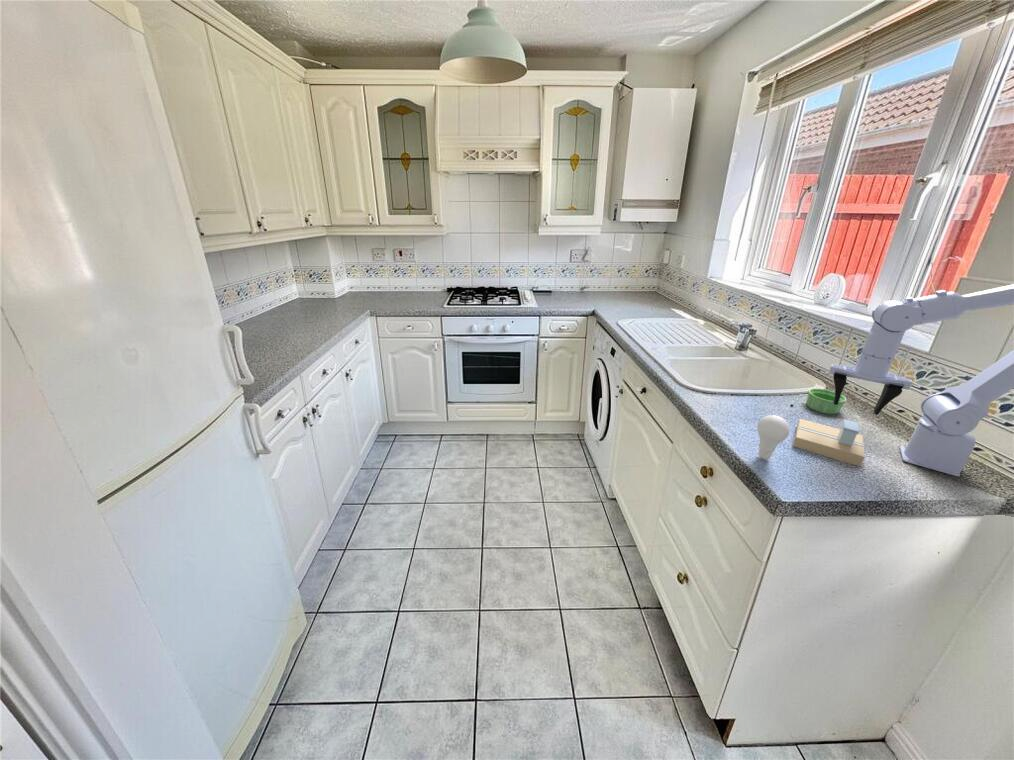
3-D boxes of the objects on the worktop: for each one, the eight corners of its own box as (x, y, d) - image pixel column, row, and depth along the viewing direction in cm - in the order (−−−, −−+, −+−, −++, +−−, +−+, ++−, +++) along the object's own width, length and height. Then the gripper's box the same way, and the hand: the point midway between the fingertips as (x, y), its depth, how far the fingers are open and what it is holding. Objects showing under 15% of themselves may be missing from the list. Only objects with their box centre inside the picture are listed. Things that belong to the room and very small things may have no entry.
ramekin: (797, 404, 122) (801, 390, 120) (815, 399, 125) (820, 386, 124) (829, 417, 114) (834, 403, 113) (847, 412, 118) (853, 398, 116)
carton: (858, 444, 101) (862, 435, 100) (860, 466, 93) (864, 456, 92) (796, 427, 108) (799, 418, 107) (792, 446, 100) (796, 436, 99)
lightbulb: (768, 451, 97) (781, 410, 93) (784, 466, 92) (800, 424, 87) (742, 450, 97) (755, 410, 93) (757, 466, 91) (772, 423, 87)
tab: (852, 437, 99) (858, 422, 97) (852, 446, 95) (859, 431, 94) (837, 433, 100) (843, 419, 99) (837, 442, 97) (843, 427, 95)
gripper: (917, 357, 91) (892, 410, 97) (837, 343, 99) (818, 393, 105) (922, 366, 86) (896, 422, 92) (838, 351, 94) (818, 403, 99)
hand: (855, 407), depth 98 cm, fingers open, 7 cm apart
